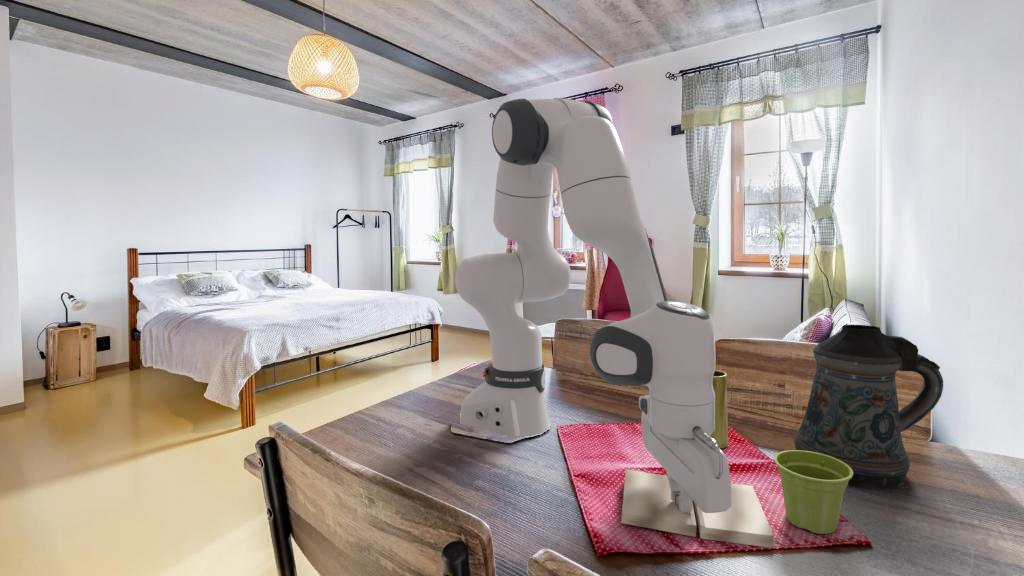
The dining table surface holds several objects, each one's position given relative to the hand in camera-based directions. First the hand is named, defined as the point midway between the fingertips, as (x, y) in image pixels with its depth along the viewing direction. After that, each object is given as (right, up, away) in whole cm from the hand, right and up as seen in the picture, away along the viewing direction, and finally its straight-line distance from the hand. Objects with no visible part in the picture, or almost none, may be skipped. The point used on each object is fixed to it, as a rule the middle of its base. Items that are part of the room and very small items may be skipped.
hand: (681, 506), depth 68 cm
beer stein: (+36, 0, +14) cm, 39 cm away
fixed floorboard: (+7, -2, +1) cm, 7 cm away
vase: (+15, +1, +25) cm, 29 cm away
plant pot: (+18, -2, -1) cm, 18 cm away
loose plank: (-3, -1, +3) cm, 4 cm away
